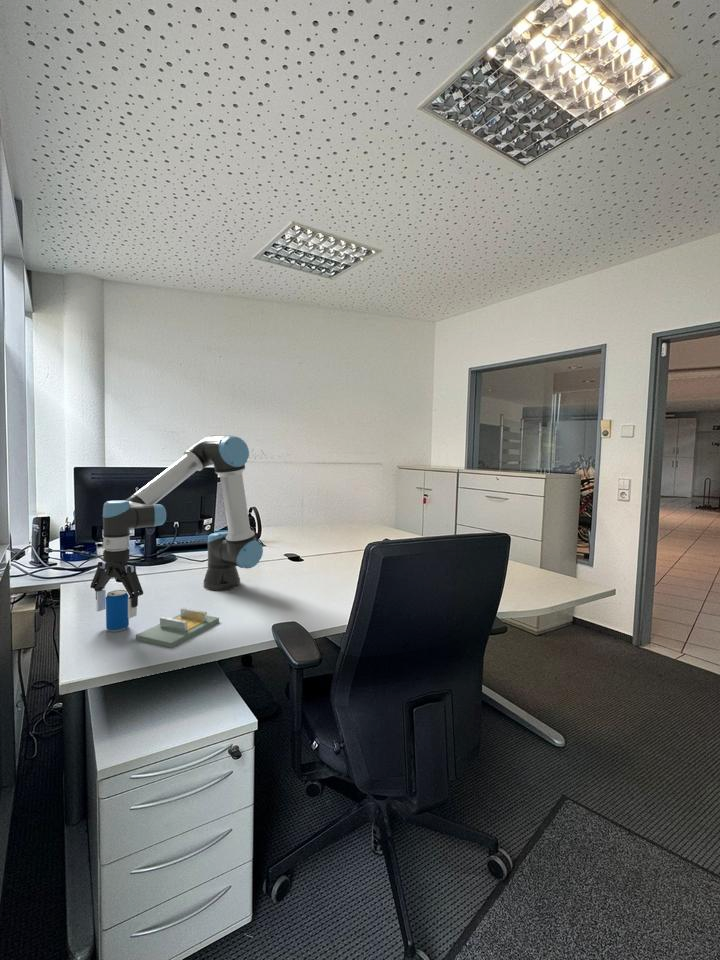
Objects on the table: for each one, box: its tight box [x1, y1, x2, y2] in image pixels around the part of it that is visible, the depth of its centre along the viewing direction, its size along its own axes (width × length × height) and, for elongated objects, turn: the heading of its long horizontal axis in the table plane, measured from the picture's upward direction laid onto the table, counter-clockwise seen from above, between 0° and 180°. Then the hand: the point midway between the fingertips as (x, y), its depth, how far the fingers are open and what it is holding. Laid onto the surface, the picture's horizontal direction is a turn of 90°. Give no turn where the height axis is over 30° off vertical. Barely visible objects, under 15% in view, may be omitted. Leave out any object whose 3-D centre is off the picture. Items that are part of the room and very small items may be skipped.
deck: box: [135, 613, 220, 649], centre depth 149 cm, size 14×22×2 cm, turn 159°
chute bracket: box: [159, 607, 208, 632], centre depth 150 cm, size 10×10×3 cm
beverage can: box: [105, 589, 130, 633], centre depth 149 cm, size 6×6×12 cm
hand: (116, 613), depth 148 cm, fingers open, 13 cm apart
